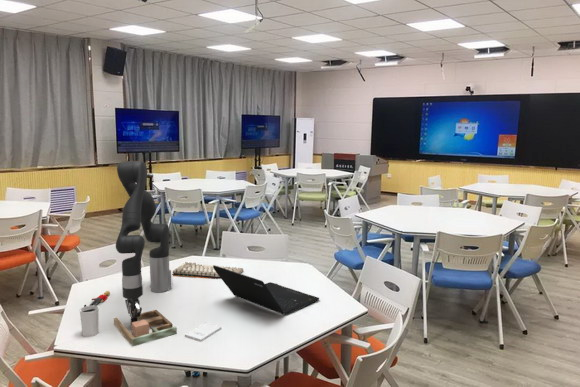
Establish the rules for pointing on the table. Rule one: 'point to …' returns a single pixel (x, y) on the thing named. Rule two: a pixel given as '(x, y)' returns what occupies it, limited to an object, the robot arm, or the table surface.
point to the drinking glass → (89, 320)
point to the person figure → (99, 298)
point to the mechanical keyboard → (200, 271)
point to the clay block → (140, 328)
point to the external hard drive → (203, 332)
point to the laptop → (264, 292)
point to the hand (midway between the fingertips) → (134, 325)
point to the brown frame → (156, 323)
